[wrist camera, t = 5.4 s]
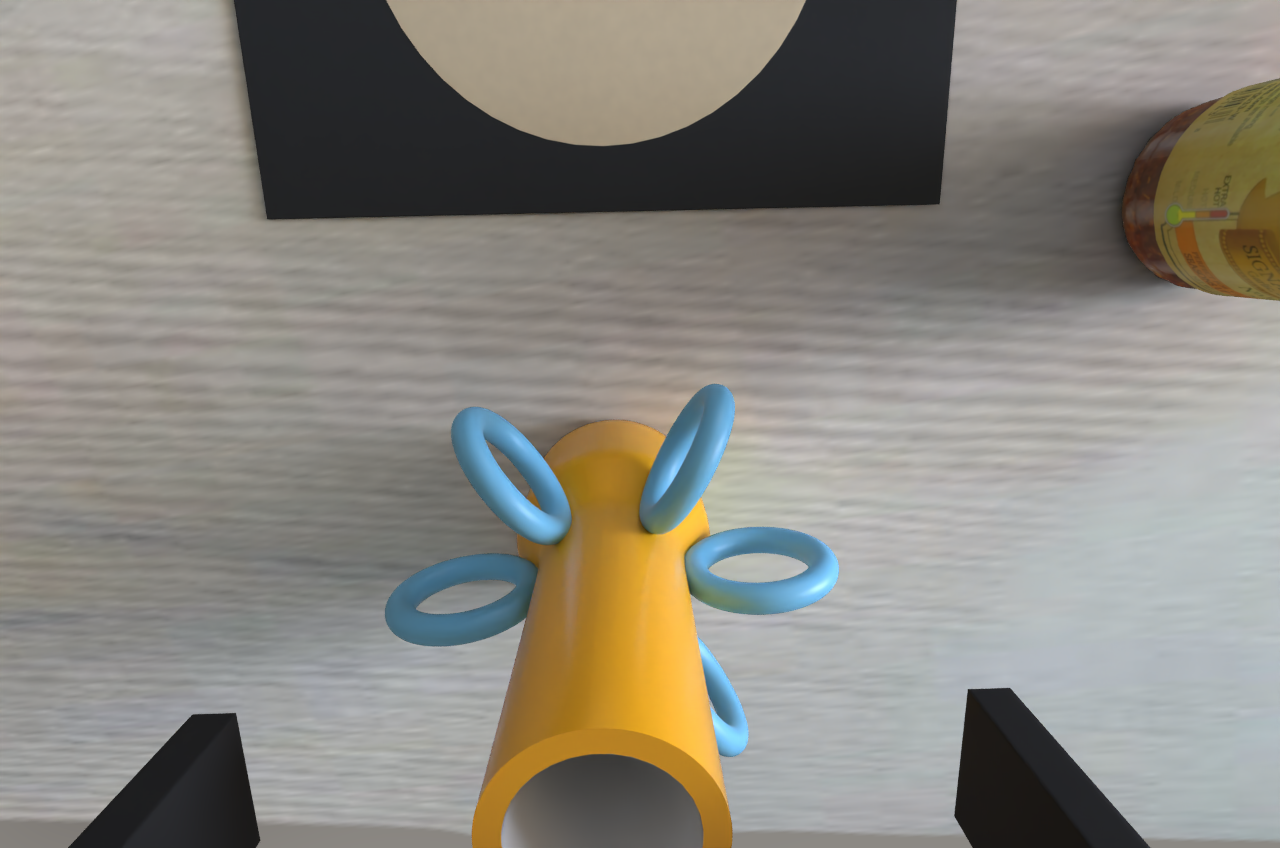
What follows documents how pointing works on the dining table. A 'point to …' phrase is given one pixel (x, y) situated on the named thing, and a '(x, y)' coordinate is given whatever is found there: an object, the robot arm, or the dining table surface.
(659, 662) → the cylinder
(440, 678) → the dining table surface
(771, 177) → the mat
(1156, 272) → the sauce bottle
